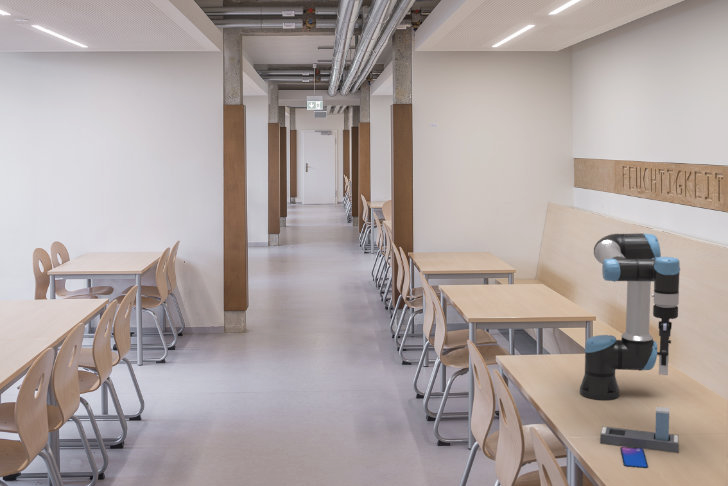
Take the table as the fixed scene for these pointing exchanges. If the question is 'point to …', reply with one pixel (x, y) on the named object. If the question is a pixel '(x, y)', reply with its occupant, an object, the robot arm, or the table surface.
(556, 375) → the table surface
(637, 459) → the smartphone
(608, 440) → the panel
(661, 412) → the plug
